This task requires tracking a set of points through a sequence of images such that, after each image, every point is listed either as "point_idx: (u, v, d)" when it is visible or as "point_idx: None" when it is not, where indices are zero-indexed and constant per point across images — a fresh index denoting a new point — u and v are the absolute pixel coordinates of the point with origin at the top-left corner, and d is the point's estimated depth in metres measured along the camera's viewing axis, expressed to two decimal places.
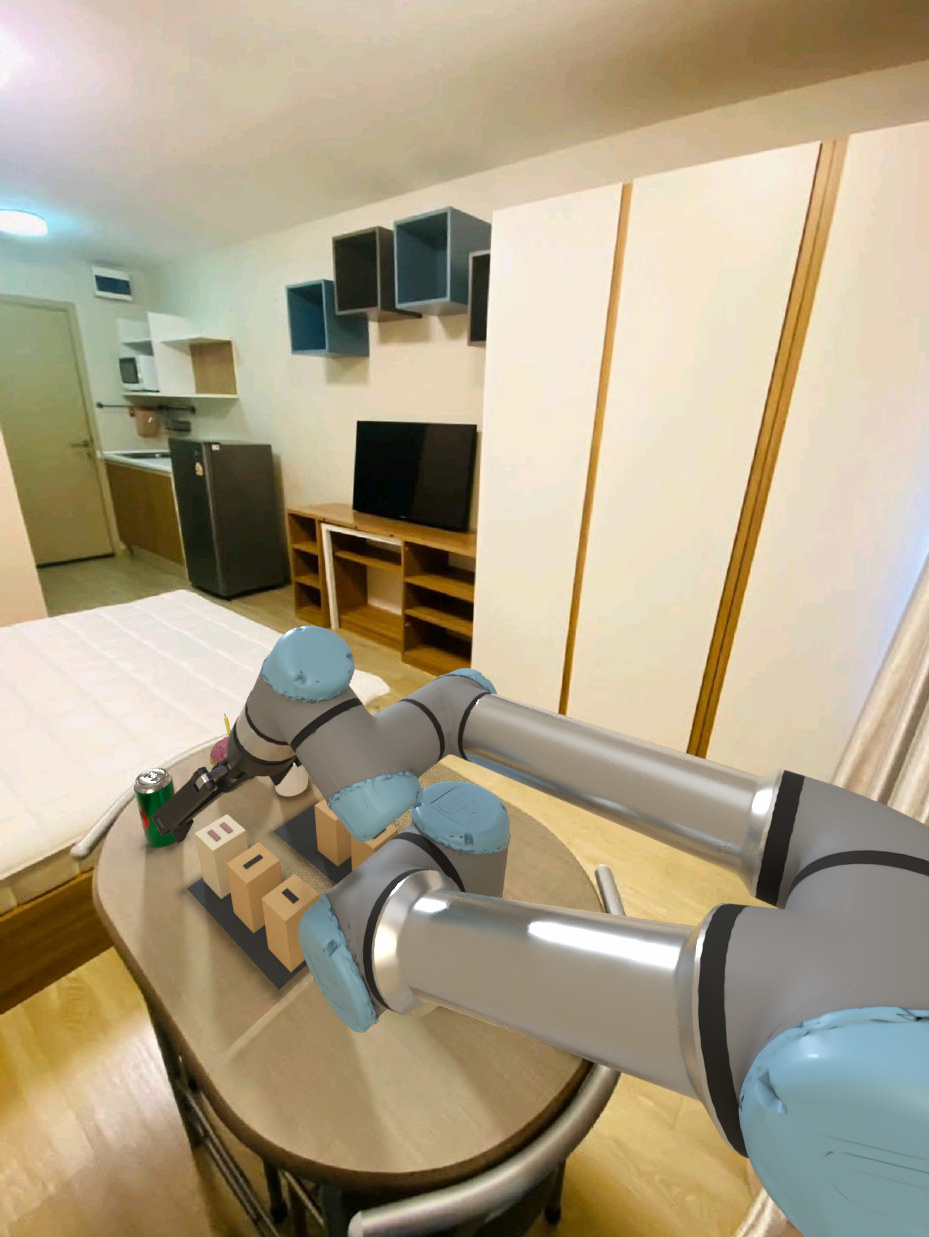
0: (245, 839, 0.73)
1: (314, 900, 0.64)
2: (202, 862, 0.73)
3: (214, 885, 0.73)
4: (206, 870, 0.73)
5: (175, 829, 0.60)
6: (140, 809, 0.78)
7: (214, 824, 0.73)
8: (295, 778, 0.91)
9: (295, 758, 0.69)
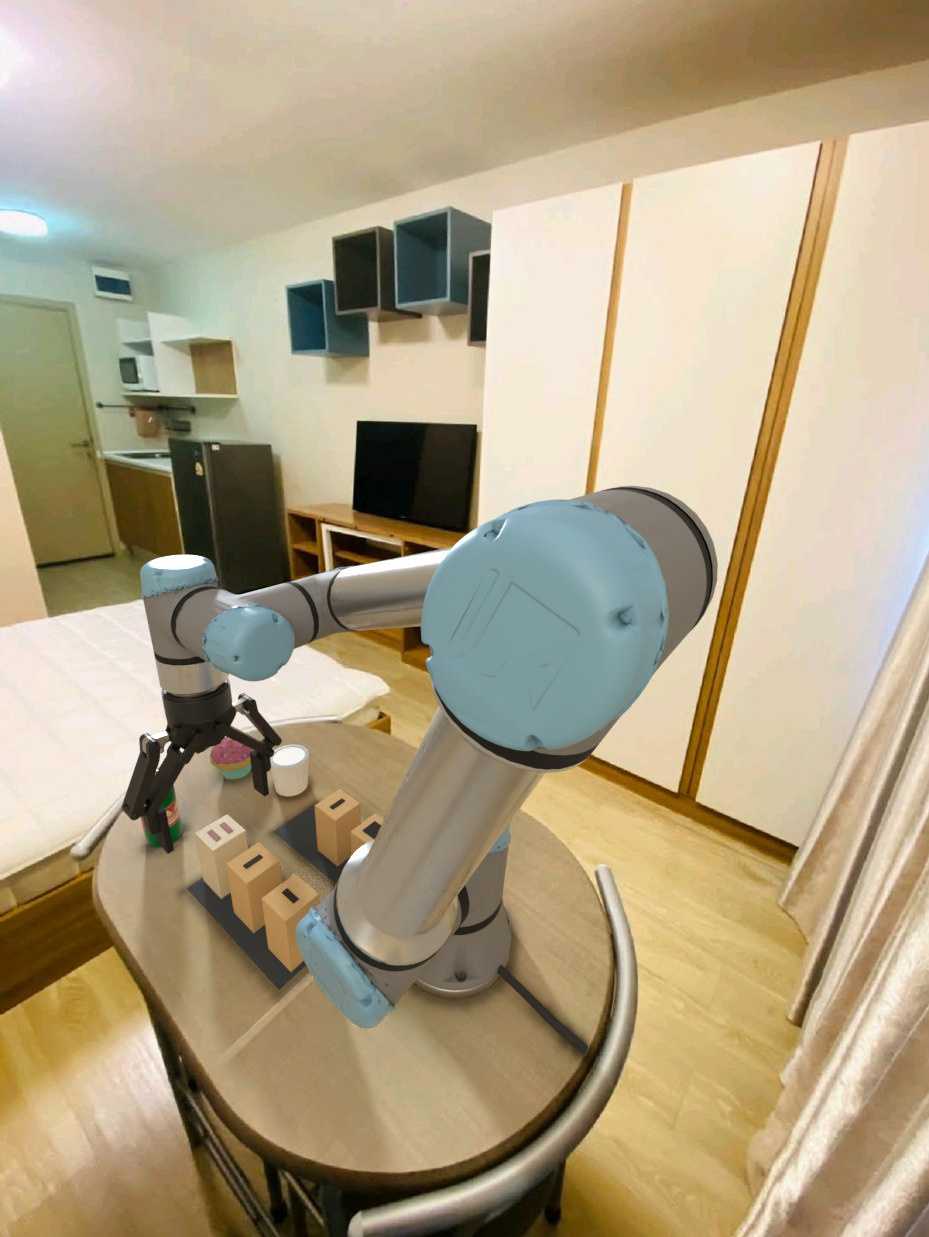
0: (245, 839, 0.73)
1: (314, 900, 0.64)
2: (202, 862, 0.73)
3: (214, 885, 0.73)
4: (206, 870, 0.73)
5: (152, 825, 0.63)
6: None
7: (214, 824, 0.73)
8: (295, 778, 0.91)
9: (260, 745, 0.72)
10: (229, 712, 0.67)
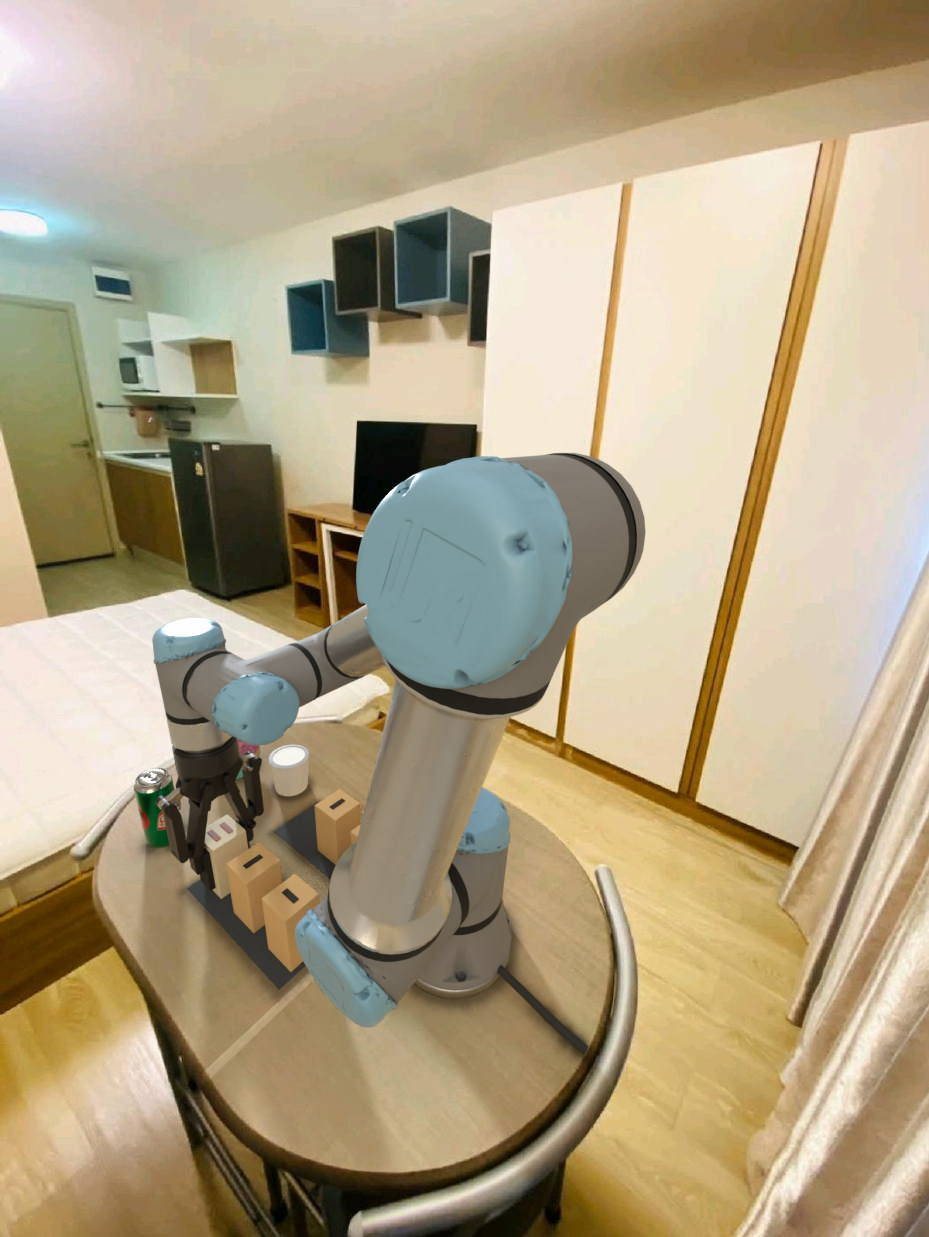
0: (245, 839, 0.73)
1: (314, 900, 0.64)
2: None
3: None
4: None
5: (198, 866, 0.70)
6: (140, 809, 0.78)
7: (214, 824, 0.73)
8: (295, 778, 0.91)
9: (247, 813, 0.74)
10: (238, 762, 0.70)
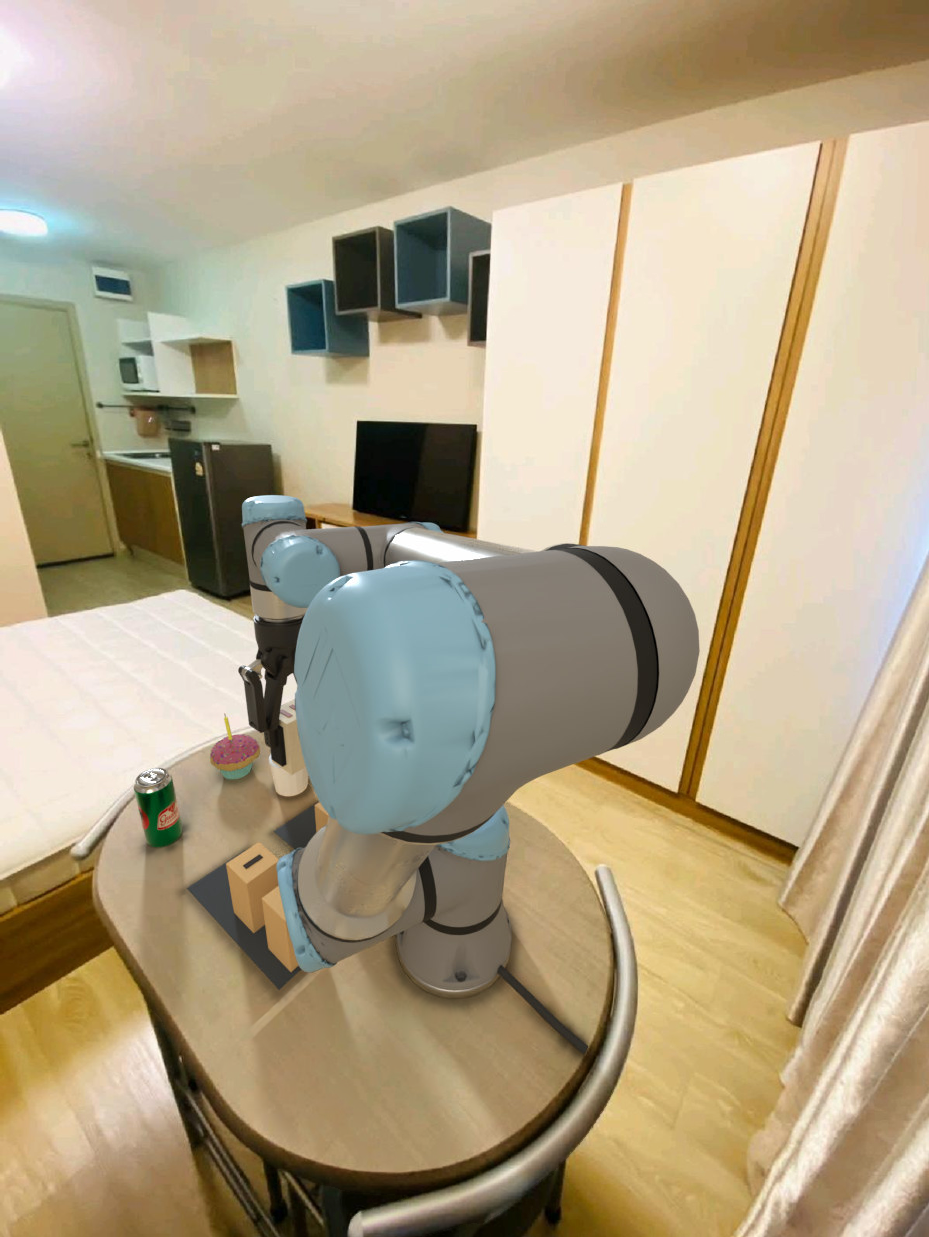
0: None
1: None
2: None
3: None
4: None
5: (272, 740, 0.74)
6: (140, 809, 0.78)
7: (284, 706, 0.78)
8: (295, 778, 0.91)
9: None
10: None
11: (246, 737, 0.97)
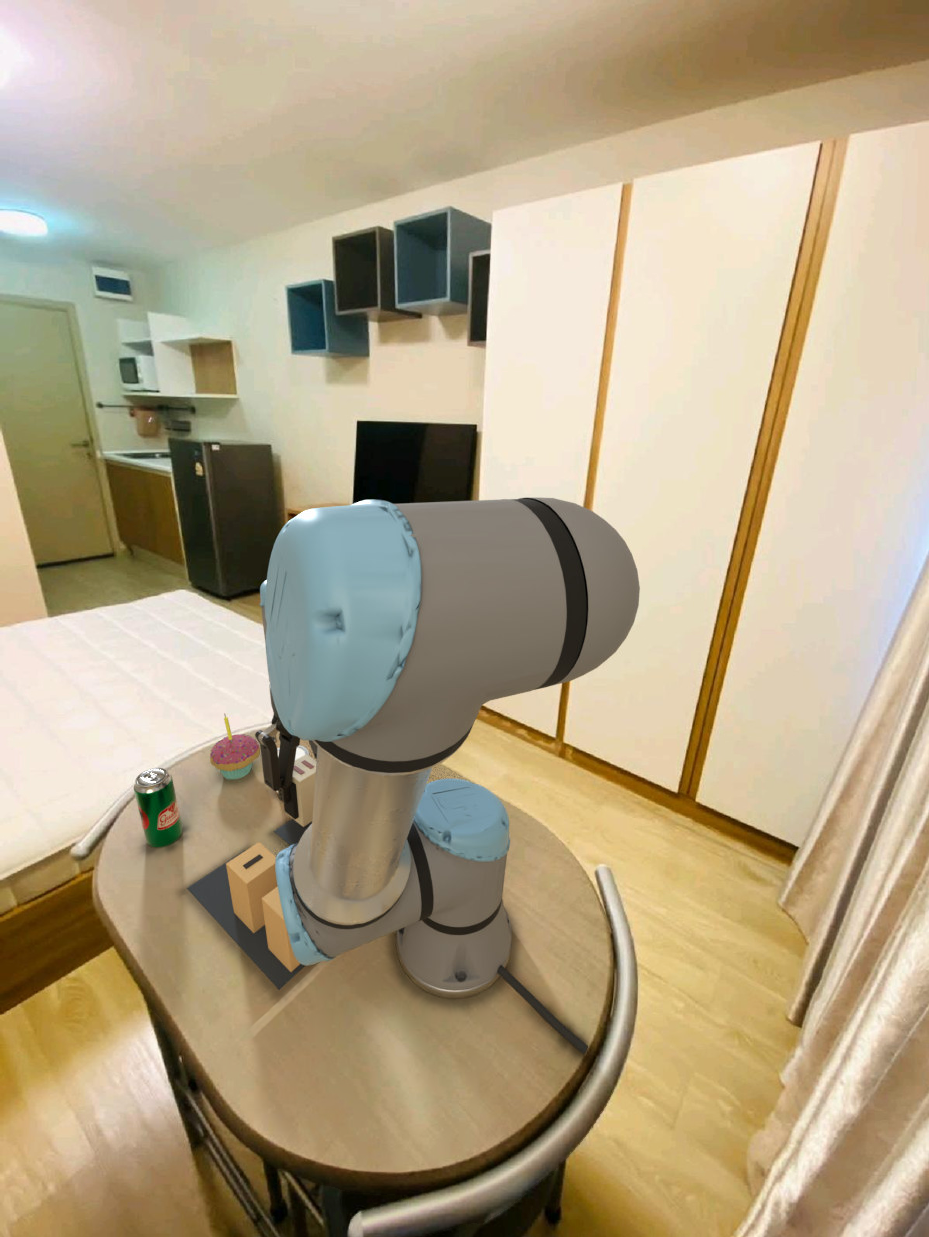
0: None
1: None
2: None
3: None
4: None
5: (286, 796, 0.80)
6: (140, 809, 0.78)
7: (296, 761, 0.83)
8: None
9: None
10: None
11: (246, 737, 0.97)
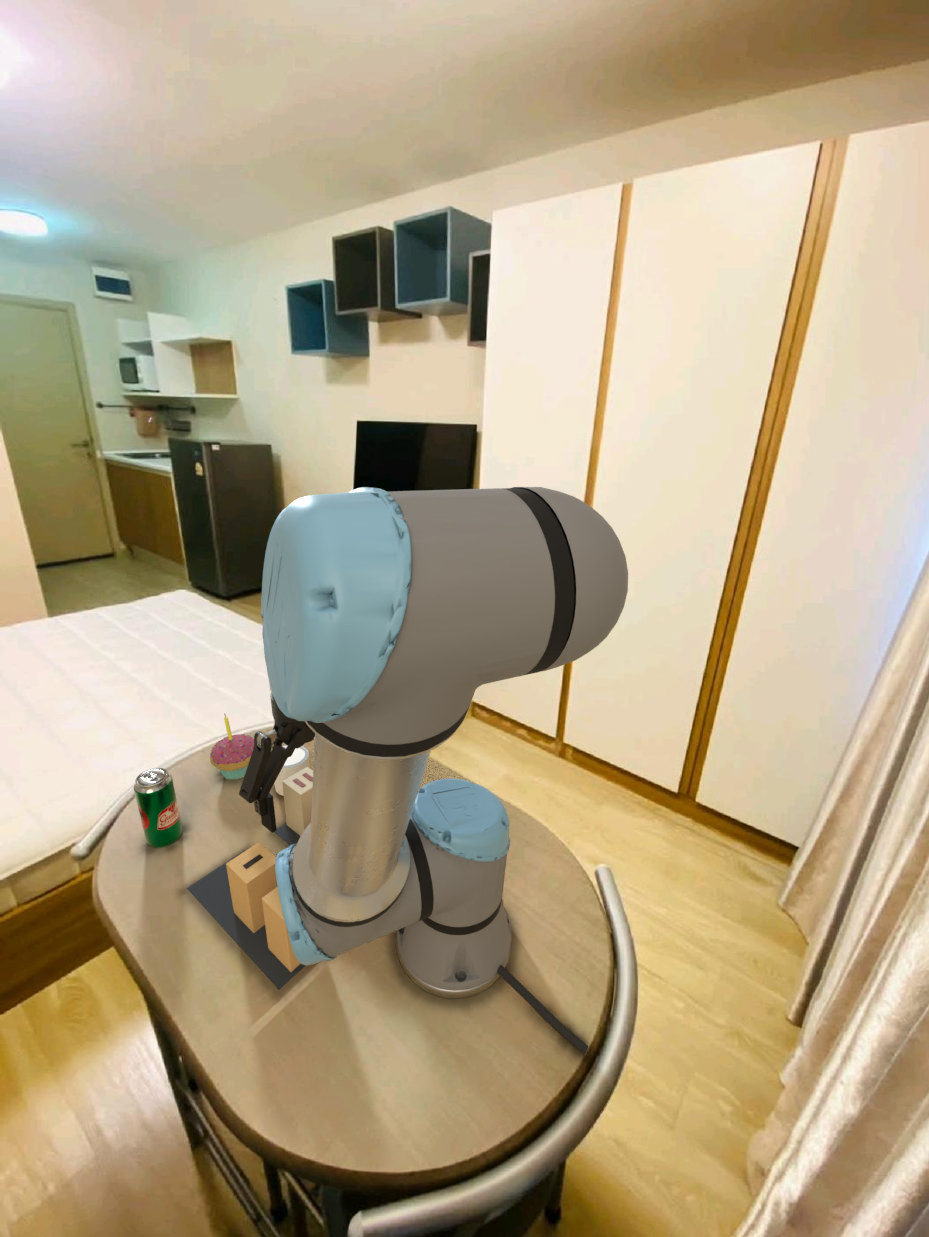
0: None
1: None
2: (287, 807, 0.84)
3: (298, 827, 0.83)
4: (291, 814, 0.84)
5: (262, 808, 0.76)
6: (140, 809, 0.78)
7: (297, 774, 0.84)
8: None
9: None
10: None
11: (246, 737, 0.97)
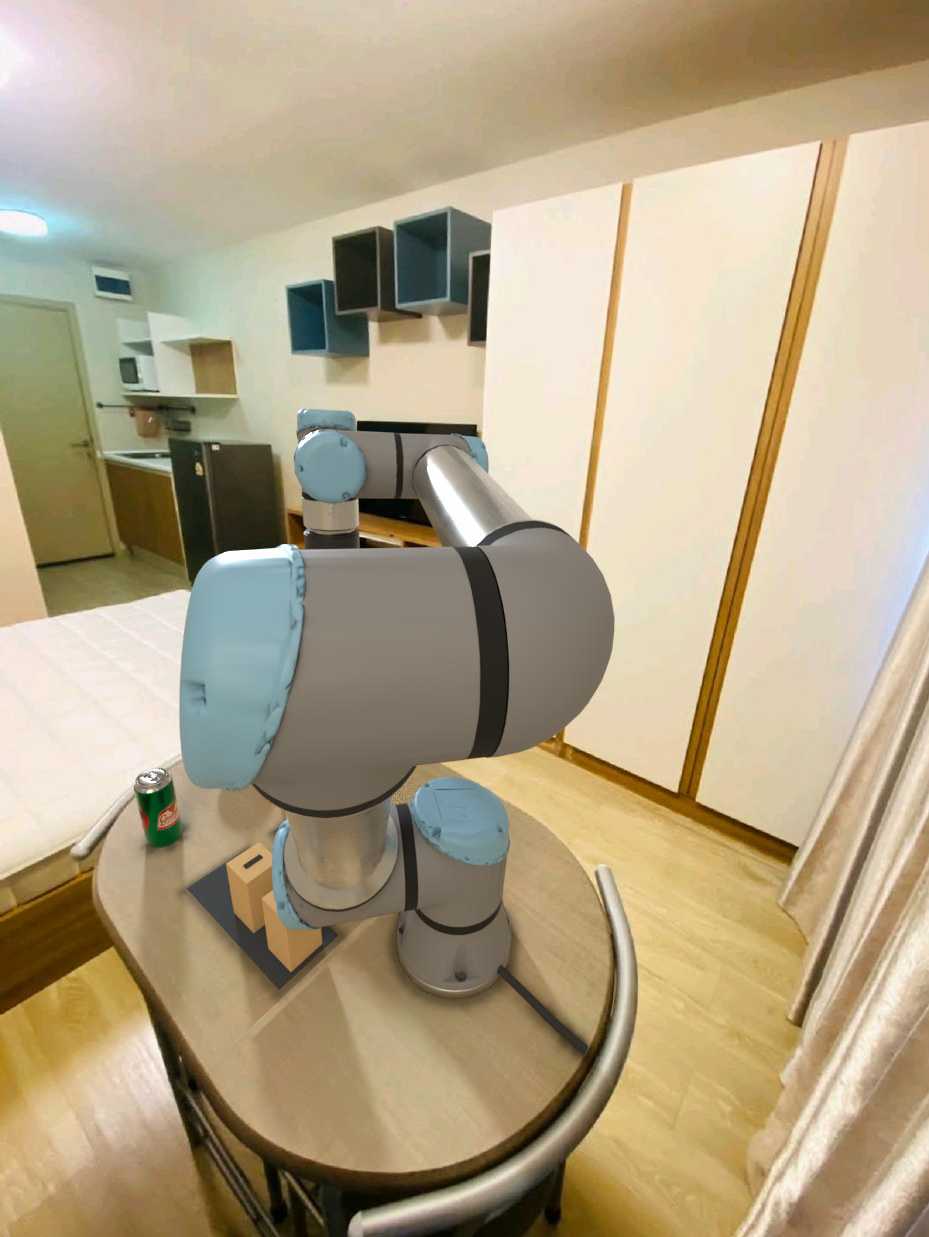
0: None
1: None
2: None
3: None
4: None
5: None
6: (140, 809, 0.78)
7: None
8: None
9: None
10: None
11: None
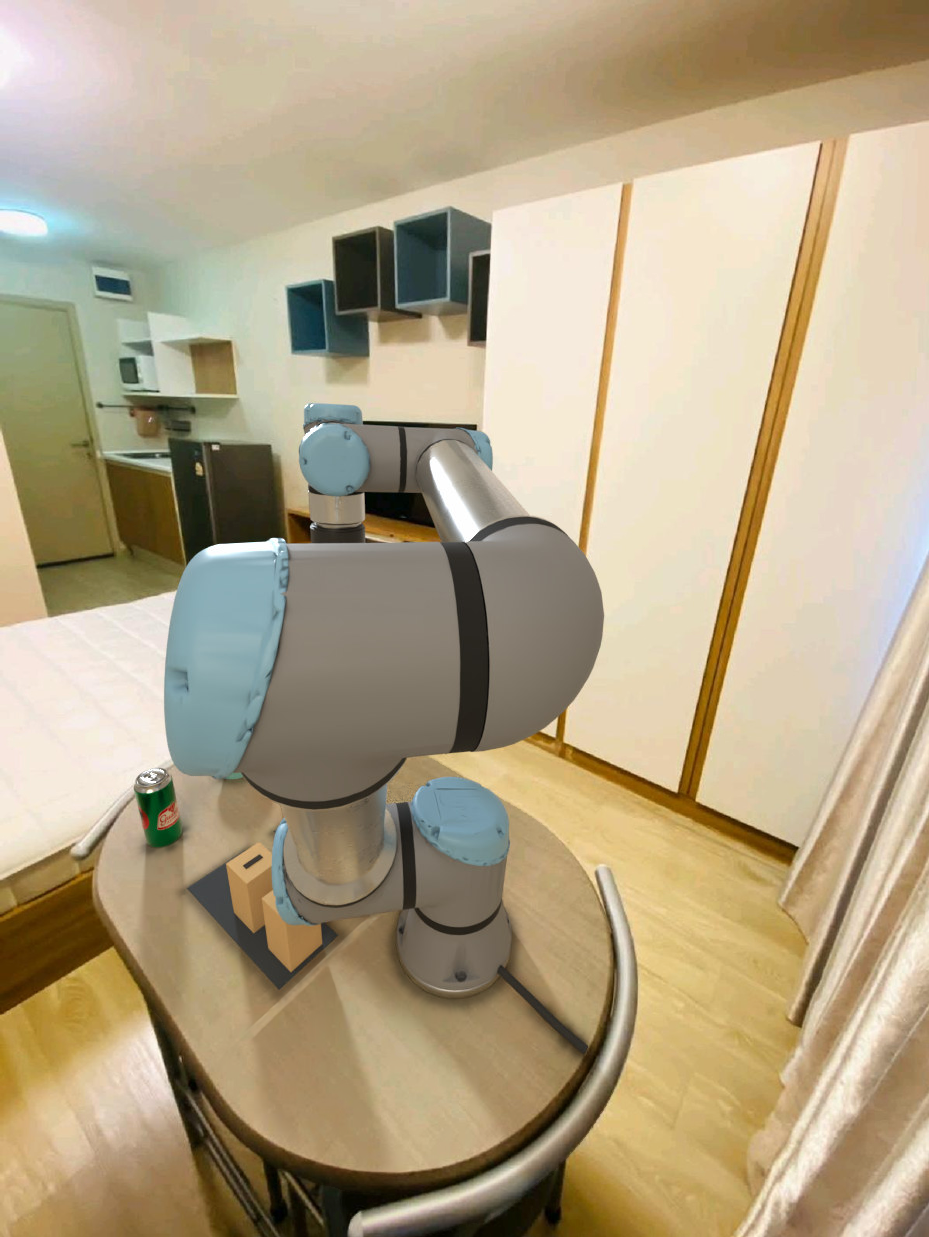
0: None
1: None
2: None
3: None
4: None
5: None
6: (140, 809, 0.78)
7: None
8: None
9: None
10: None
11: None
